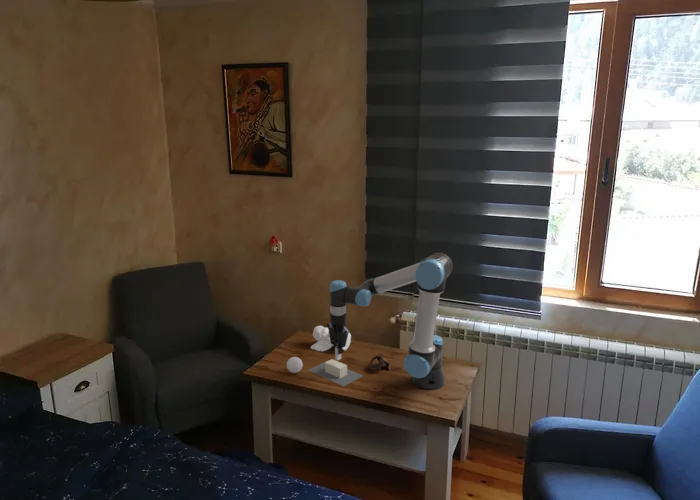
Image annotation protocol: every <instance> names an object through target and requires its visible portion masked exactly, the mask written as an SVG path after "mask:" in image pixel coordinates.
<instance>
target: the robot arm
mask: <svg viewBox="0 0 700 500" xmlns="http://www.w3.org/2000/svg"><path fill="white" fill-rule="evenodd" d="M453 268H454V267H453V261H452V259H451V258H450V256H449V255H447V254H445V253H442V252H435V253H433V254H431V255H428V257H425V258H423V259H421V261H420V262H417V263H415V264H412V265H409V266H406V267H403V268H400V269H398V270H395V271H392V272H389V273H386V274H384V275H380V276H377V277H375V278H369V279H366V280H365V281H364V282H363V283H362V284H360V285H358V286H357V287H350V286H347V282H346V281H344V280H341V279H339V280H338V279H337V280H332V281H331V282H330V284H329V320H330V323H328V324H326V326H327V327H326V328H328V330H329V335H330V341H331V344H333V346H334V347H333V350H334V360H336V361H338V362H339V360H342V354H343V349H342V348H343V347H345V346H346V342H347V337H348V333H349V332H350V329H348V328H347V325H346V322H347V314H346V313H347V304H350V305H354V306H359V307H368V306H369V305H370V303H371V301H372V297H373V296H376V295H379V294H382V293H385V292H388V291H392V290H394V289H397V288H400V287H403V286H406V285H410V284H412V283H415V282H416V289H417V290H418V291H419V295H418V301H417V310H416V317H415V323H414V324H415V325H414V331H413V339H412V340H411V341H410V342H409V343H408V350H407V355H406V356H405V358H404V360H403V367H404V370H405V371H406V373H407V374H408V375H410V376H411V377H412V383H413V384H414V386H417V387H418V388H420V389H426V390H437V389H440V388H442V387H444V385H445V383H446V377H445V375H444V370H443V367H442V366H443V349H444V347H443V346H444V340H443V338H442V337H441V336H439V335H437V334H435V330H436V323H437V317H438V316H437V315H438V311H439V310H438V309H439V303H440V296H441V294H443V293H444V292H445V288H446V282H447V281H446V280H447V278H448V277H449V276H450V275H451V273H452V271H453Z"/></svg>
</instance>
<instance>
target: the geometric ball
mask: <svg viewBox="0 0 700 500" xmlns="http://www.w3.org/2000/svg"><path fill="white" fill-rule="evenodd" d="M286 368H287V371H289V372H290V373H291V374H296V373H298V372H300V371H301V370H302V368H303V361H302V359H301V358H299V357H298V356H292V357H290V358H289V359H288V360H287V362H286Z"/></svg>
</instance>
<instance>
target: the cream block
mask: <svg viewBox="0 0 700 500" xmlns="http://www.w3.org/2000/svg"><path fill="white" fill-rule="evenodd" d="M326 361H327V362H326ZM326 361H324V362H325V372H327V373H329V374H331V375H334V376H336V377H338V378H342V377H344V376H346V375H347V369H348V364H345V363H342V362H340V361H339V360H338V361H337V360H335V359H332V358H331V359H330V360H326Z"/></svg>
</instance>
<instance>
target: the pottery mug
mask: <svg viewBox="0 0 700 500" xmlns="http://www.w3.org/2000/svg"><path fill="white" fill-rule="evenodd" d="M375 360H377V362H378V363H375V364H373V362H374V361H375ZM369 361H370V363H369V367H370V368H369V369H370V370H373V371H377V370H380V371H381V370H382V367H386V368H388V371H391V365H390V362H389V361H388V359H387V358H386V357H384V354H382V353H379V354H378V355H373V357H371V359H370V360H369Z"/></svg>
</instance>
